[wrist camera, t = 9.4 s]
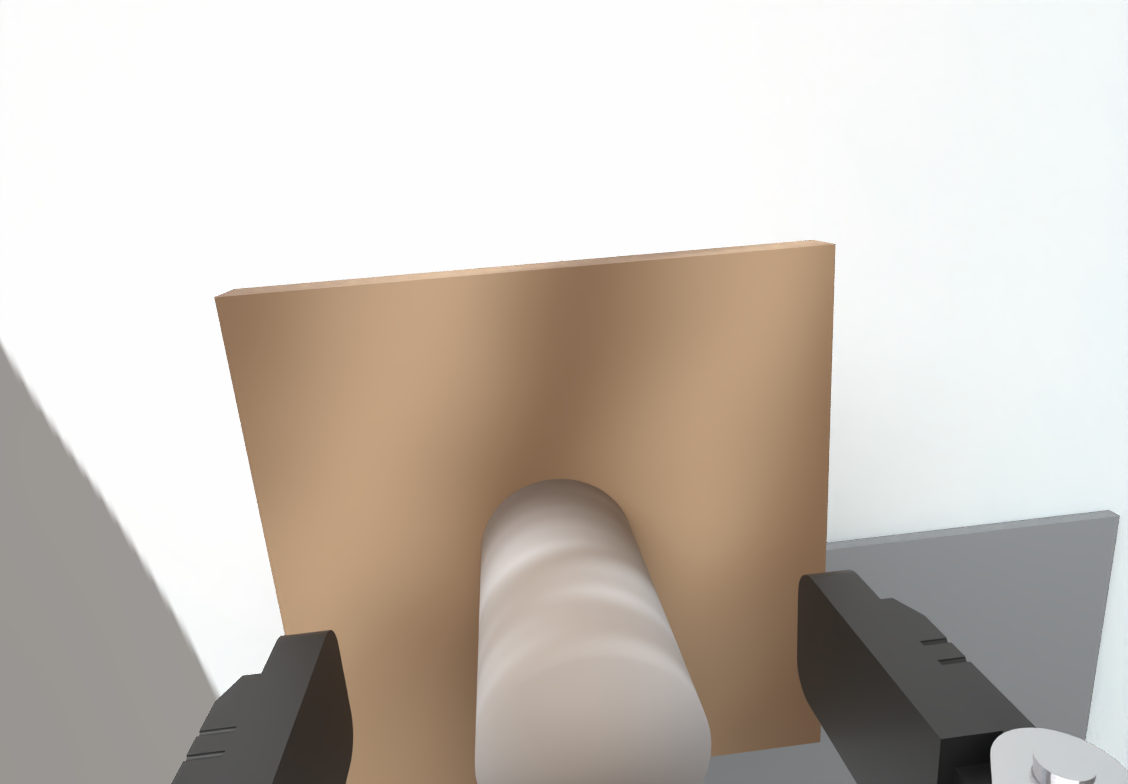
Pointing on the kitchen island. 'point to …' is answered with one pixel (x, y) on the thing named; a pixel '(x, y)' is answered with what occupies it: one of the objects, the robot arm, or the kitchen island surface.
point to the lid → (549, 504)
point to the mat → (979, 621)
